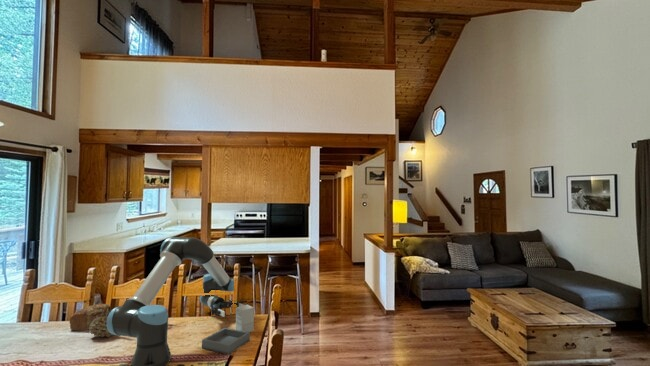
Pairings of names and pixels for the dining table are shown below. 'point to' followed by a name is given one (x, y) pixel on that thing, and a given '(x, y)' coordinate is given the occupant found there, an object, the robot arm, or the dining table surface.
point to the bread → (88, 316)
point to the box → (226, 340)
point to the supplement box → (245, 318)
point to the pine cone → (99, 327)
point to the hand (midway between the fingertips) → (235, 311)
